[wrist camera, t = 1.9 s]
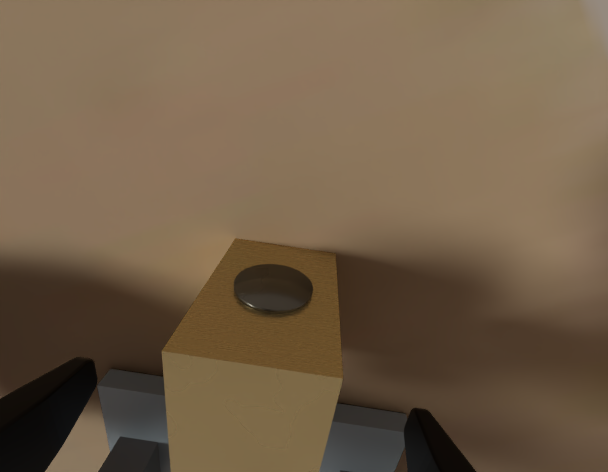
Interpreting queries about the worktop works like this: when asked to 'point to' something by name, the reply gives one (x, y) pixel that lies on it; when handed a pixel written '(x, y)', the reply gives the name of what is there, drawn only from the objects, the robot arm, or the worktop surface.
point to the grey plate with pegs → (154, 434)
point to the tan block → (256, 364)
